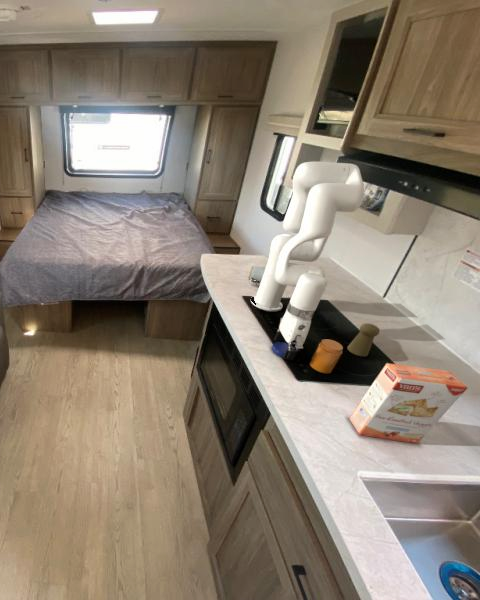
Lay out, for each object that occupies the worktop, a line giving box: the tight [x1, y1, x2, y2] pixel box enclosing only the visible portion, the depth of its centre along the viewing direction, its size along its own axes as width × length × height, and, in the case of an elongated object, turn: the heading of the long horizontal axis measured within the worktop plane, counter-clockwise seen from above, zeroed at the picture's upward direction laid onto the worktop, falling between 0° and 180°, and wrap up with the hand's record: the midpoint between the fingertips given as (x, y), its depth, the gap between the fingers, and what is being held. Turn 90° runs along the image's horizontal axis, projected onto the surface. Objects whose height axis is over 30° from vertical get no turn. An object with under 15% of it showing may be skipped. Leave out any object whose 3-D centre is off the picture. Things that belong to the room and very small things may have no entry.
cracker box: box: [348, 362, 468, 445], centre depth 83 cm, size 14×6×21 cm, turn 80°
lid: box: [271, 342, 295, 358], centre depth 116 cm, size 7×7×2 cm
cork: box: [346, 322, 381, 357], centre depth 115 cm, size 6×6×11 cm
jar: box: [309, 338, 344, 374], centre depth 107 cm, size 6×6×10 cm
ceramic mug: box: [248, 265, 266, 287], centre depth 161 cm, size 11×8×8 cm
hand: (283, 350), depth 116 cm, fingers open, 9 cm apart
